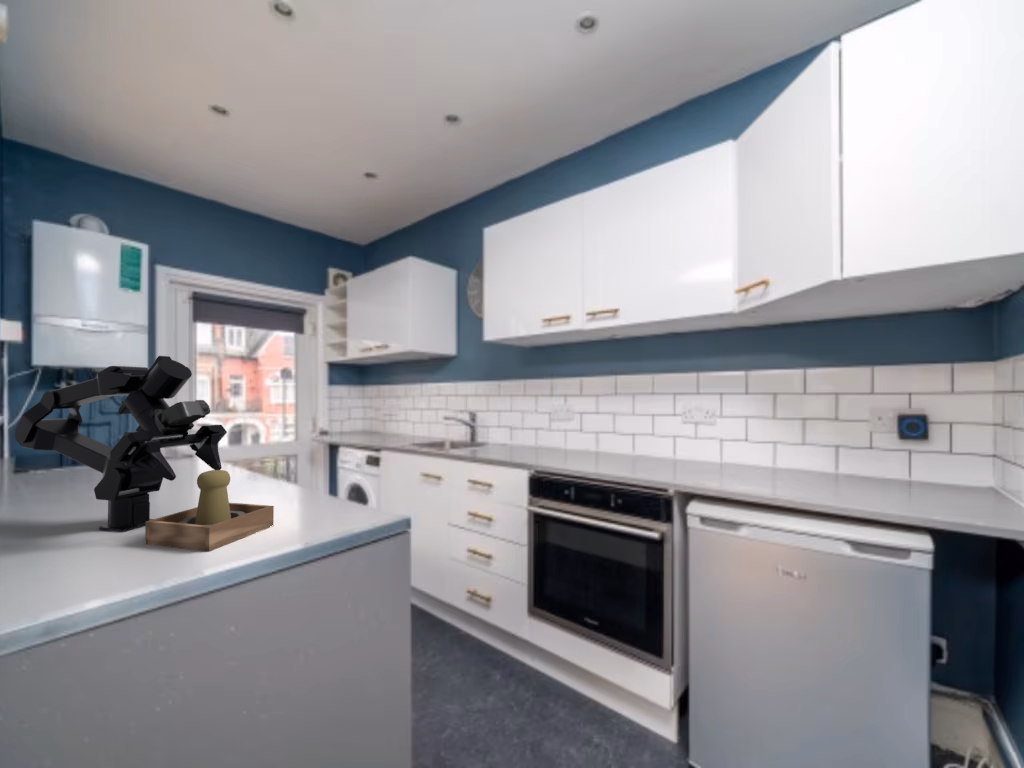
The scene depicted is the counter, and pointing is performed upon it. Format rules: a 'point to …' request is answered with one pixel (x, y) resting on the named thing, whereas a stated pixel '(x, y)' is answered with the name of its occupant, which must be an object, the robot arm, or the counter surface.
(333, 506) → the counter surface
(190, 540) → the socket box
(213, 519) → the olive knobbed peg
